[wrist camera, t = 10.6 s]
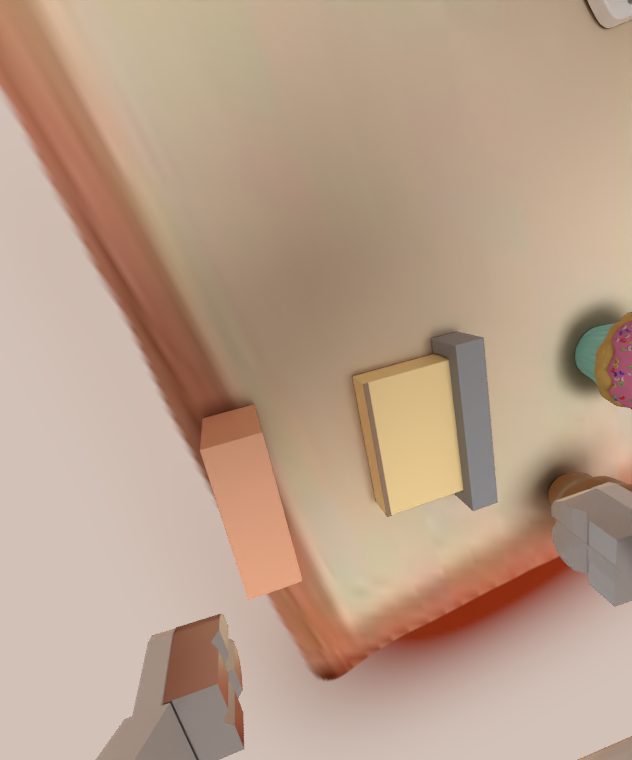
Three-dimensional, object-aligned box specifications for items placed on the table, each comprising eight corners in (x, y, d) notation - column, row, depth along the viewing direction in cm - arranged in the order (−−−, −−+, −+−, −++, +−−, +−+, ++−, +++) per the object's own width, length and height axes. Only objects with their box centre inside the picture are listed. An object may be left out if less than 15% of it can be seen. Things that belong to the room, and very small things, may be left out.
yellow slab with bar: (459, 330, 34) (487, 336, 31) (474, 481, 39) (500, 501, 35) (349, 360, 33) (365, 370, 29) (378, 514, 37) (395, 538, 34)
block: (254, 404, 32) (262, 432, 26) (288, 531, 35) (302, 580, 29) (202, 418, 31) (199, 450, 25) (242, 547, 34) (248, 600, 29)
